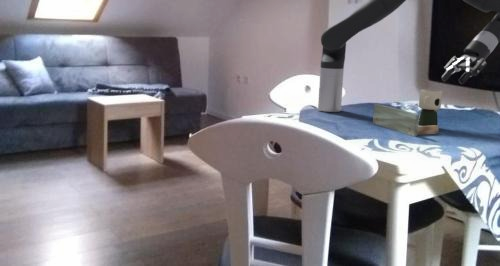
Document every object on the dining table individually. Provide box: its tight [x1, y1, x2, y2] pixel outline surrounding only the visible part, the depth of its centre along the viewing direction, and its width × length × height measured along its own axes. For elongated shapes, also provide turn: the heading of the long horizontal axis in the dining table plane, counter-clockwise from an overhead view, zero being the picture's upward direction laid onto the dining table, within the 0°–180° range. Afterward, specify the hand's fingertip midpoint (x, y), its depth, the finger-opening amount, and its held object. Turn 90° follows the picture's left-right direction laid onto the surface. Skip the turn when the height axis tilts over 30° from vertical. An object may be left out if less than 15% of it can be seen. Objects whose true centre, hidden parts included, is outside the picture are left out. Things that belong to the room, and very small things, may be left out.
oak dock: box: [372, 103, 440, 137], centre depth 163 cm, size 11×22×7 cm, turn 21°
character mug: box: [418, 88, 443, 126], centre depth 166 cm, size 11×7×13 cm, turn 144°
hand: (451, 81), depth 167 cm, fingers open, 7 cm apart
